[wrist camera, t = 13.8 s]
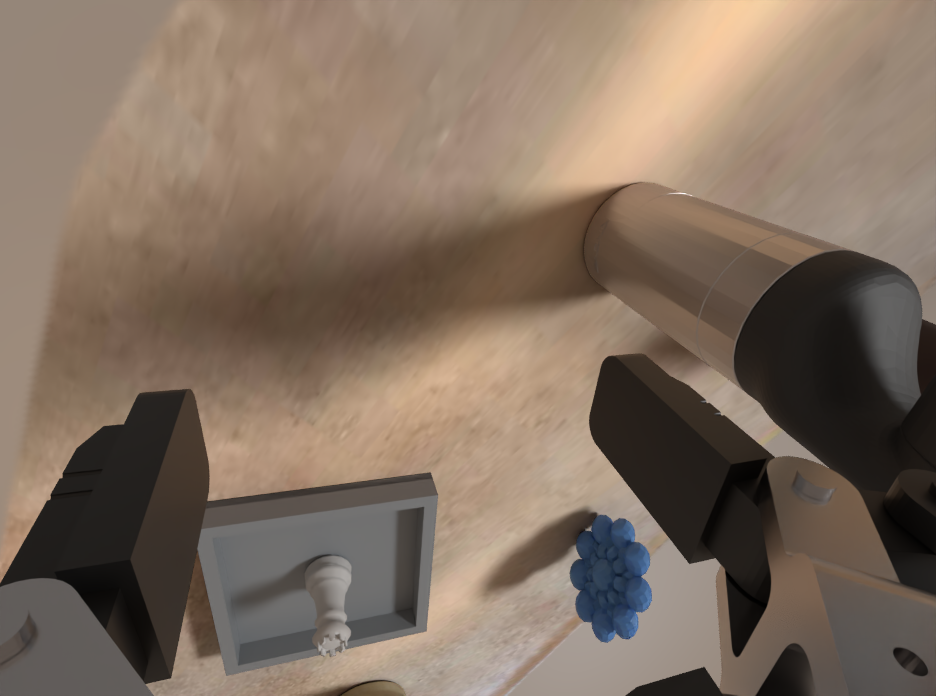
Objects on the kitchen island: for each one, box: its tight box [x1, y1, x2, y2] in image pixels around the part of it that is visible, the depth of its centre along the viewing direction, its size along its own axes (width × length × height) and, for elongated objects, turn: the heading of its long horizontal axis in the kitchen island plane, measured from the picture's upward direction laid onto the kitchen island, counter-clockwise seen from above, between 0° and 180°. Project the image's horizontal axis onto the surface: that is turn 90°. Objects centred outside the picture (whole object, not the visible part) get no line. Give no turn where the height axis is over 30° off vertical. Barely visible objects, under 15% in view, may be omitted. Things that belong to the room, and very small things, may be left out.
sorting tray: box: [197, 473, 438, 676], centre depth 49 cm, size 20×20×3 cm
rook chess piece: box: [304, 555, 351, 657], centre depth 46 cm, size 4×4×8 cm
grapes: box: [570, 515, 652, 643], centre depth 56 cm, size 12×7×12 cm, turn 149°
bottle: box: [917, 319, 936, 394], centre depth 44 cm, size 7×7×20 cm
